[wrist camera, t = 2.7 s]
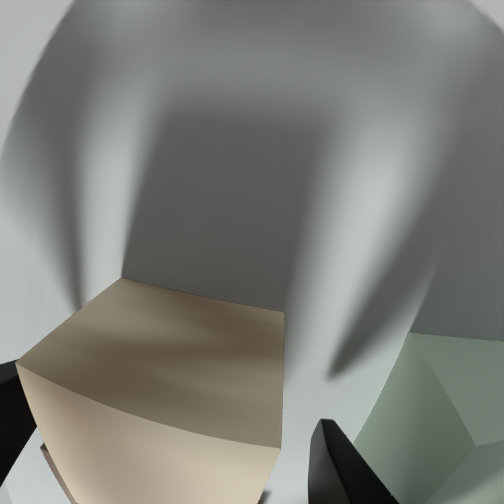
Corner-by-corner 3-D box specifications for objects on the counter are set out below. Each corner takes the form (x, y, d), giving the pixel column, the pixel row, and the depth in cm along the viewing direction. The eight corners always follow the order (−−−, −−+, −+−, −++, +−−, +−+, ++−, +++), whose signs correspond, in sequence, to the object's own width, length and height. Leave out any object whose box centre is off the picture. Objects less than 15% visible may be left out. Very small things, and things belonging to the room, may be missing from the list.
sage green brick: (507, 340, 8) (578, 417, 4) (442, 447, 10) (473, 528, 5) (407, 330, 9) (475, 446, 4) (346, 451, 10) (360, 553, 6)
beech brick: (284, 310, 9) (281, 448, 4) (250, 441, 11) (233, 551, 6) (122, 276, 9) (15, 362, 4) (128, 411, 11) (76, 502, 6)
